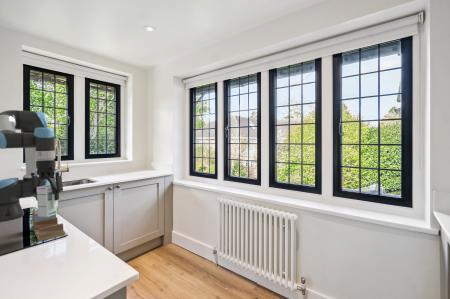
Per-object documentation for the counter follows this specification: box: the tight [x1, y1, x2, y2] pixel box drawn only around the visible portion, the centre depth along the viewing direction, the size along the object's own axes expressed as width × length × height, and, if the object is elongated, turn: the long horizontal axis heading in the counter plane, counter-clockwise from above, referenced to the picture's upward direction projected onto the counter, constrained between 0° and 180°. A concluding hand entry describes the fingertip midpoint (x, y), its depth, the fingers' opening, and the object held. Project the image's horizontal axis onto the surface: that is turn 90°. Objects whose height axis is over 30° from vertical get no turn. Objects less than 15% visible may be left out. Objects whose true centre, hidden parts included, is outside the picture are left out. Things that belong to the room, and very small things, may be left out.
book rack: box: [31, 209, 66, 242], centre depth 117 cm, size 22×10×10 cm, turn 45°
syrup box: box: [36, 185, 59, 217], centre depth 114 cm, size 6×6×14 cm
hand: (48, 206), depth 114 cm, fingers closed on syrup box, 6 cm apart
